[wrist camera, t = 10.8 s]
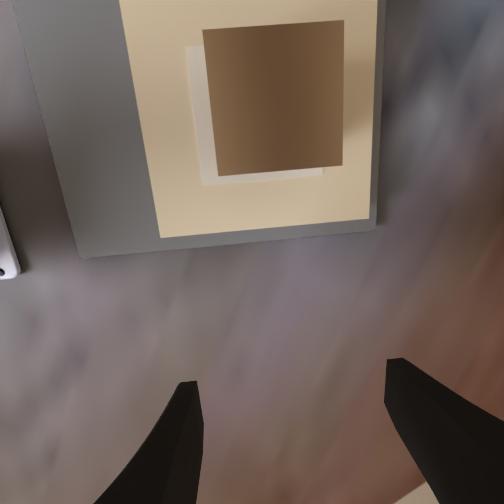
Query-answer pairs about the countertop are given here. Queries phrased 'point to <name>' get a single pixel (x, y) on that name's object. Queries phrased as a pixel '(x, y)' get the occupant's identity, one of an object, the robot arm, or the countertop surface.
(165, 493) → the robot arm
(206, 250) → the countertop surface
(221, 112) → the walnut block
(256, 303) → the countertop surface
